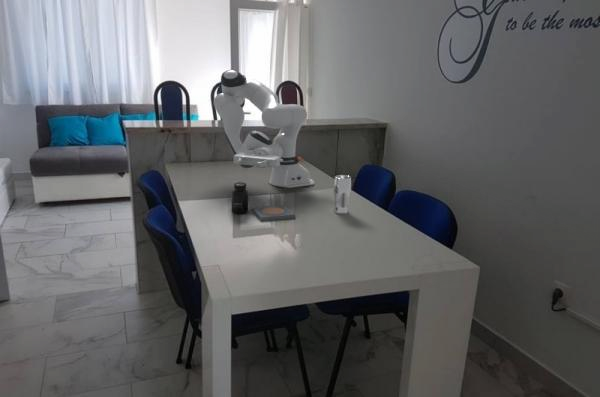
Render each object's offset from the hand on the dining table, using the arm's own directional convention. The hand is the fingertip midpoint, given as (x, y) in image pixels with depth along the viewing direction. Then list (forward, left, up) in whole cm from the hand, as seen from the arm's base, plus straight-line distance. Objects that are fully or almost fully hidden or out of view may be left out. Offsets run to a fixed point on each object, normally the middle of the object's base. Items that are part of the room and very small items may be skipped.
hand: (249, 163), depth 195 cm
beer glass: (-34, +20, -18) cm, 43 cm away
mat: (-6, +15, -18) cm, 24 cm away
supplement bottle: (+6, +9, -18) cm, 21 cm away
